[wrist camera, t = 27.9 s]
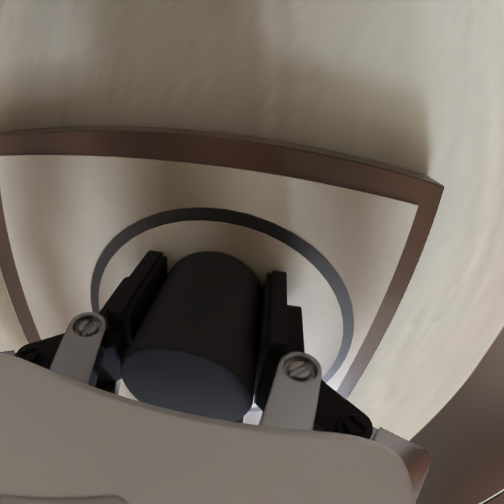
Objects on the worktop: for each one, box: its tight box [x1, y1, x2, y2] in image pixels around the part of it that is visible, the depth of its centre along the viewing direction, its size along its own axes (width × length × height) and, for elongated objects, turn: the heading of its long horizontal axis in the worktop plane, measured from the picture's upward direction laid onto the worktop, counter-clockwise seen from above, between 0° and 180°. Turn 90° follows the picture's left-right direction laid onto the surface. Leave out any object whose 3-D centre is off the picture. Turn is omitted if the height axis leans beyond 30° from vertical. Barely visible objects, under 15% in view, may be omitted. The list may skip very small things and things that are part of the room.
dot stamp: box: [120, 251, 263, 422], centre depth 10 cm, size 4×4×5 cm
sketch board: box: [0, 126, 444, 425], centre depth 15 cm, size 22×18×2 cm
